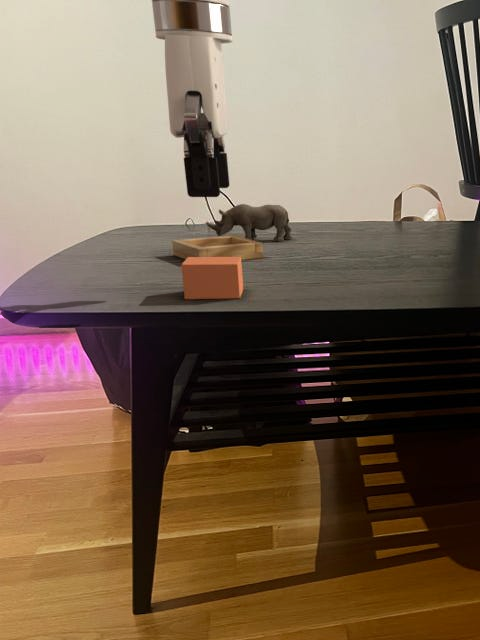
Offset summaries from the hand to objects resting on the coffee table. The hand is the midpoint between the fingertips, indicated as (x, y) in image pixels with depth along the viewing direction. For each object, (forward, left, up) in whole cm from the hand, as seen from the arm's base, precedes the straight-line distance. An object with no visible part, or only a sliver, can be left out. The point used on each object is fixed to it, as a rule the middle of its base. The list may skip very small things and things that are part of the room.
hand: (210, 191), depth 79 cm
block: (0, 0, -12) cm, 12 cm away
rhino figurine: (+22, +33, -12) cm, 41 cm away
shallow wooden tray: (+11, +22, -12) cm, 27 cm away
